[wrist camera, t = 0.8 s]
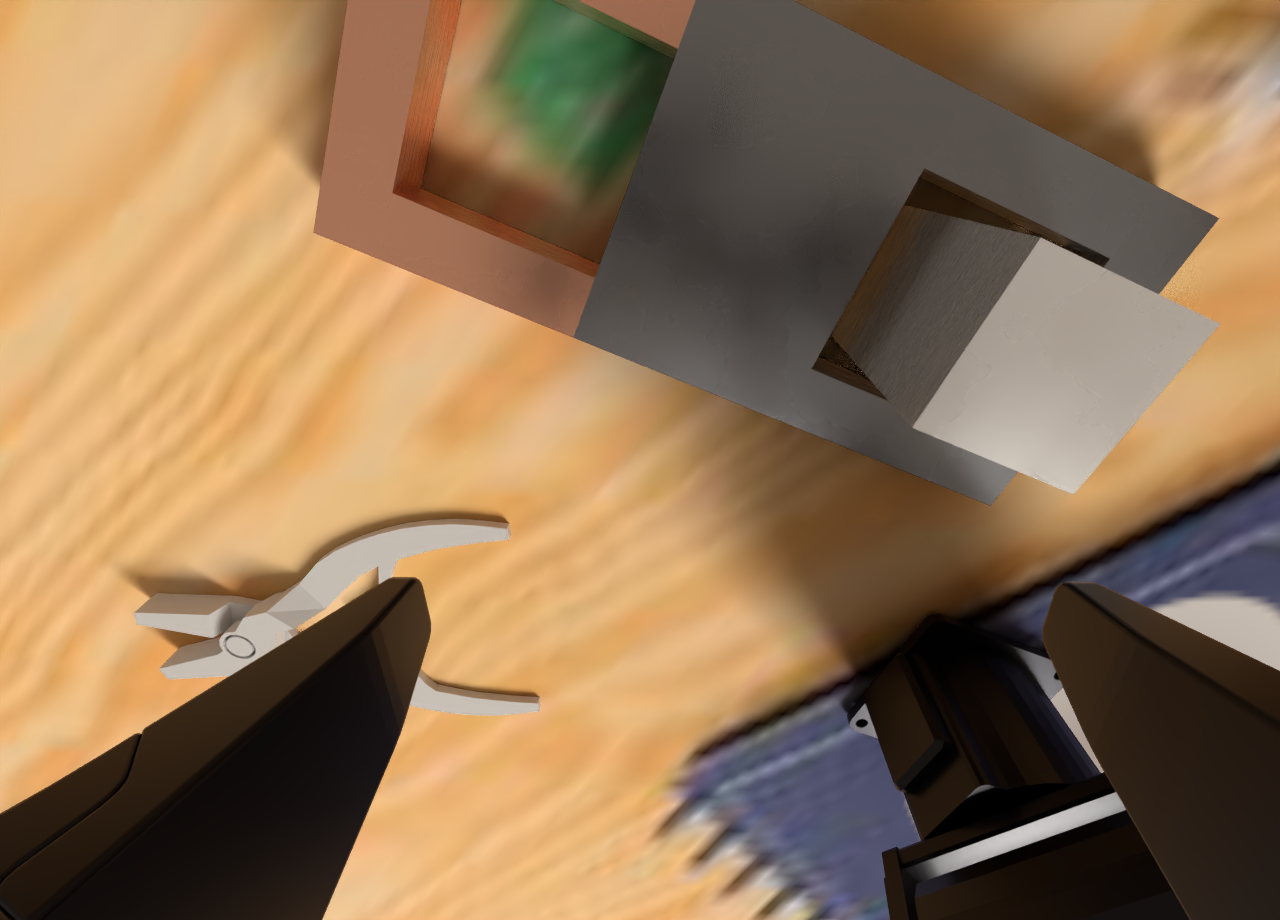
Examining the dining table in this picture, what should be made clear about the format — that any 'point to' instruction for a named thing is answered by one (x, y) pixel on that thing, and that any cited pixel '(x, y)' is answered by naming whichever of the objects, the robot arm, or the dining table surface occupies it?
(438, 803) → the dining table surface
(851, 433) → the grey copper slotted plate
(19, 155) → the dining table surface
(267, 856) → the robot arm
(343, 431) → the dining table surface
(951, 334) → the grey metal block
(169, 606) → the pliers
